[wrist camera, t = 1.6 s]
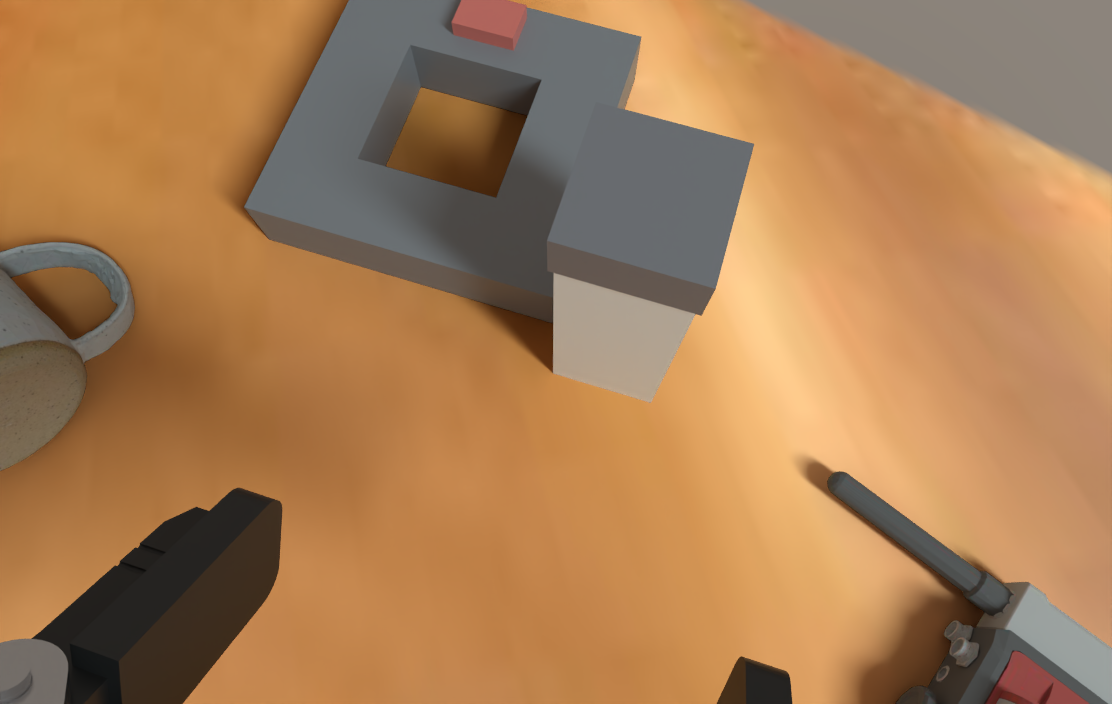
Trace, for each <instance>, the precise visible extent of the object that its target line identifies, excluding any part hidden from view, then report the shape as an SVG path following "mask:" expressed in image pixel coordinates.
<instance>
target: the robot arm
mask: <svg viewBox="0 0 1112 704" xmlns="http://www.w3.org/2000/svg"><path fill="white" fill-rule="evenodd" d="M281 524H282V505H281V502H280V501H278V500H275V499H272V498H269V497H266V496H263V495H260V494H257V493H254V492H251V491H248V490H245V489H242V488H236V489H234V490H232V491H231V492H229V493H228V494H227V495H226V496H225V497H224V498H223V499H222V500H221V501H220V502H219V503H218V504H216V505H215V506H214V507H213V508H212V509H211V510H210V511H207V510H204V509H201V508H198V507H195V508H193V509H191V510H189V511H187V512H184V513H182V514H180V515H178V516H176V517H174V518H171V519H169V520H167V521H165V522H164V523H162V524H161V525H160V526H159V527H158V528H157V529H156V530H155V531H153V532H152V533H151V534H150V535H149V536H148V537H147V538H146V539H144V540H143V541H142V542H141V543H140V546H139V547H138V548H134V549H133V550H132V551H131V552H130V553H129V554H127V555H126V556H125V557H124V558H123V559H122V560H121V561H120V564H119V565H118V566H114V567H113V568H112V569H111V570H109V571H108V572H107V573H106V574H105V575H104V576H103V577H102V578H100V579H99V580H98V581H97V582H96V583H95V584H94V585H93V586H91V587H90V588H89V589H88V590H87V591H86V592H85V593H84V594H82V595H81V596H80V597H79V598H78V599H77V600H76V601H75V602H73V603H72V604H71V605H70V606H69V607H68V608H67V609H66V610H64V611H63V612H62V613H61V614H60V615H59V616H58V617H56V618H55V619H54V620H53V621H52V622H51V623H50V624H49V625H47V626H46V627H45V628H44V629H43V630H42V631H41V632H39V633H38V634H37V635H36V636H34V637H33V638H32V639H18V640H11V641H7V642H2V643H0V704H183V702H184V701H185V700H186V699H187V697H188V696H189V695H190V694H191V693H192V691H193V690H194V689H195V688H196V686H197V685H198V684H199V683H200V681H201V680H202V679H203V678H204V676H205V675H206V674H207V673H208V671H209V670H210V669H211V668H212V666H213V665H214V664H215V663H216V661H217V660H218V659H219V658H220V656H221V655H222V654H223V653H224V651H225V650H226V649H227V648H228V646H229V645H230V644H231V643H232V641H233V640H234V639H235V638H236V636H237V635H238V634H239V633H240V631H241V630H242V629H243V628H244V626H245V625H246V624H247V623H248V622H249V620H250V619H251V618H252V617H253V615H254V614H255V613H256V612H257V610H258V609H259V608H260V607H261V605H262V604H263V603H264V601H265V600H266V598H267V597H268V595H269V593H270V591H271V589H272V587H273V585H274V583H275V580H276V577H277V574H278V569H279V559H280V541H281ZM717 704H792V695H791V683H790V677H789V674H788V672H787V671H784V670H781V669H778V668H775V667H772V666H769V665H766V664H763V663H760V662H757V661H754V660H751V659H748V658H745V657H740V658H739V659H738V660H737V662H736V664H735V666H734V668H733V670H732V672H731V674H730V676H729V678H728V681H727V683H726V685H725V687H724V689H723V691H722V693H721V696H720V698H719V700H718V702H717Z"/></svg>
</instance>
